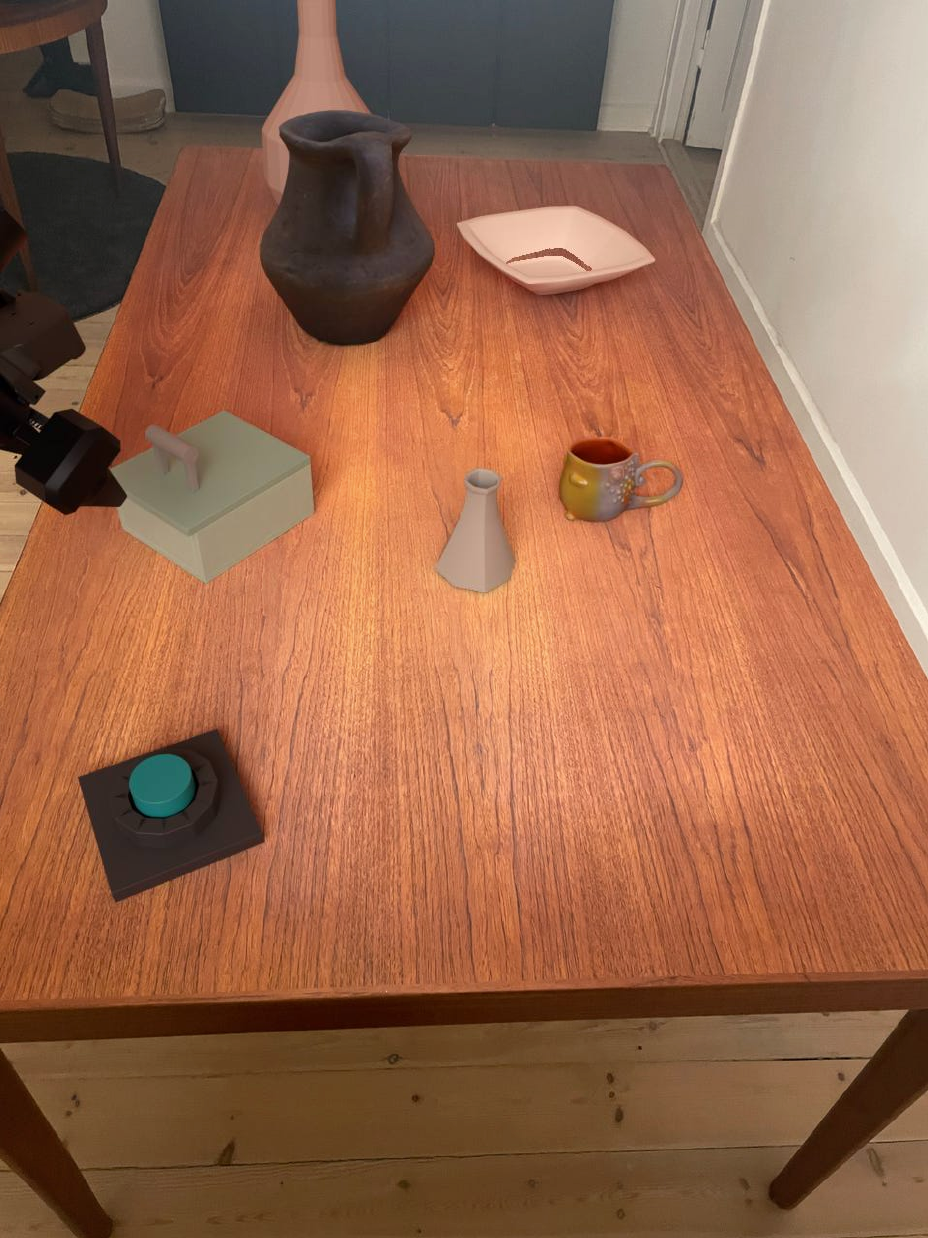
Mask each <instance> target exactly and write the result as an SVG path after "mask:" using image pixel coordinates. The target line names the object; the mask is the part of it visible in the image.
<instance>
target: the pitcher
mask: <svg viewBox="0 0 928 1238" xmlns="http://www.w3.org/2000/svg"><path fill="white" fill-rule="evenodd" d="M279 136H280V138H281V139H282V141H283V142H284V144H285V145H286V147H287V149H288V151H289V167H288V175H287V179H286V184H285V188H284V191H283V195H282V199H281V201H280V204H279V206H278V205H277V207H276V210H275V212H274V214H273V215H272V218H271V219H270V221H269V224H267V227H266V228H265V229H264V231H263V234H262V236H261V240H260V245H259V259H260V264H261V268H262V270H263V273H264V275H265V276H266V278H267V280H268V281H269V282H270V285H271V286H272V287H273V289H274V291H275V292H276V293H277V295H278V296H279V297H280V299H281V300H282V301H283V303H284V305H285V306H286V308H287V311H289V313H290V314H291V316H292V317H293V318H294V320H295V322H296V324H297V325H298V326H299V327H300V328H301V330H303V331H304V332H305V333H306V334H308V335H309V336H311V337H313V338H314V339H316V340H317V341H318V342H323V343H327V344H329V345H337V346H352V345H353V346H354V345H366V344H370V343H375V342H378V341H380V340H381V339H382V338H384V337H385V336H386V335H387V333H388V332H389V331H390V330H391V329H392V327H393V326H394V325H395V323H396V322H397V320H398V319H399V317H400V315H401V314H402V312H403V311H404V309H405V307H406V305H407V304H408V302H409V300H410V299H411V297H412V295H413V293H414V292H415V291H416V289H417V288H418V286H420V284H421V282H422V281H423V280H424V278H425V276H426V275H427V273H428V272H429V270H430V269H431V268H432V265H433V262H434V259H435V253H436V246H435V245H436V244H435V241H434V238H433V236H432V232H431V231H430V230H429V229H428V227H427V225H426V224H425V222H424V221H423V219H422V217H421V216H420V214H419V213H418V210H417V209H416V207H415V206H414V204H413V202H412V200H411V198H410V196H409V194H408V193H409V192H407V189H406V187H405V185H404V181H403V179H402V176H401V173H400V169H399V161H400V159H399V158H400V155H401V153H402V152H403V150H404V148H405V147H406V146H407V145H408V144H409V143H410V141H411V140H412V131H411V129H410V128H409V127H408V126H407V125H404V124H402V123H400V122H398V121H394V120H390V119H388V117H387V118H386V117H383V116H381V115H377V114H373V113H371V114H367V113H361V112H354V111H348V110H328V111H319V112H313V113H308V114H305V115H300V116H296V117H294V118H291V119H289V120H287V121H285V122H284V123H282V124H281V125H280V126H279Z"/></svg>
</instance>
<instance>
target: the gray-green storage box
mask: <svg viewBox="0 0 928 1238" xmlns="http://www.w3.org/2000/svg"><path fill="white" fill-rule="evenodd" d="M314 503H315V502H314V489H313V476H312V464H311V463H310V464H308V465H307V466H305V467H303V468H302V469H300V470H298V471H297V472H295V473H293V474H292V475H290V476H288V477H287V478H285V479H283V480H282V481H280V482H279V483H277V484H275V485H274V486H272V487H270V488H269V489H267V490H265V491H264V492H262V493H260V494H259V495H257V496H255V497H254V498H252V499H250V500H249V501H247V502H245V503H244V504H242V505H241V506H239V507H237V508H236V509H234V510H232V511H231V512H229V513H227V514H226V515H224V516H222V517H221V518H219V519H217V520H216V521H214V522H212V523H211V524H209V525H208V526H206V527H204V528H203V529H201V530H199V531H198V532H196V533H194V534H193V535H191V536H189V537H187V536H186V535H184V534H183V533H181V532H180V531H178V530H176V529H175V528H173V527H172V526H170V525H169V524H167V523H165V522H164V521H162V520H161V519H159V518H158V517H156V516H154V515H153V514H151V513H150V512H148V511H147V510H145V509H143V508H142V507H140V506H139V505H137V504H136V503H134V502H132V501H131V500H129V499H128V498H126V500H125V501H124V503H123V504H122V505H121V506H120V507H116V510H117V515H118V518H119V522H120V526H121V529H122V530H123V531H124V532H126V533H128V534H129V535H131V537H134V538H135V539H137V540H139V541H140V542H141V543H143V544H144V545H145V546H147V547H148V548H150V549H152V550H154V551H155V552H157V553H158V554H159V555H161V556H162V557H164V558H166V559H167V560H169V561H170V562H171V563H173V564H175V565H176V566H178V567H179V568H180V569H182V570H183V571H185V572H187V573H188V574H190V575H191V576H192V577H194V578H196V579H197V580H198V581H200V582H202V583H203V584H205V585H207V584H209V583H210V582H211V581H213V580H214V579H216V578H217V577H219V576H220V575H223V573H226V572H227V571H228V570H230V569H231V568H233V567H234V566H236V565H238V564H240V563H241V562H242V561H244V560H245V559H247V558H248V557H249V556H251V555H253V554H254V553H256V552H257V551H259V550H261V549H262V548H264V547H265V546H266V545H268V544H269V543H271V542H272V541H274V540H276V539H278V538H279V537H280V536H282V535H283V534H285V533H287V532H288V531H290V530H291V529H293V528H294V527H295V526H297V525H299V524H300V523H301V522H303V521H304V520H306V519H308V518H309V517H311V516H312V515H314V514H315V504H314Z"/></svg>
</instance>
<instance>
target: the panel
mask: <svg viewBox="0 0 928 1238" xmlns="http://www.w3.org/2000/svg"><path fill="white" fill-rule="evenodd" d="M160 754H172V755H176V756H179V757H181V758H183V759H184V760H185V761H186V762H187V763H188V764H189V766H190V768H191V772H192V776H193V779H194V783H195V793H194V796H193V798H192V800H191V802H190V803H189V804H188V806H187V807H186V808H184V809H183V810H182V811H180V812H179V813H177V814H174V815H172V816H169V817H163V818H155V817H150V816H147V815H145V814H143V813H142V812H141V811H139V809H138V808H137V807H136V805H135V802H134V799H133V796H132V794H131V791H130V787H129V780H130V776H131V774H132V772H133V771H134V769H135V768H136V767H137V766H138V765H139V764H140V763H141V762H142V761H144V760H146V759H147V758H150V757H152V756H155V755H160ZM77 779H78V782H79V786H80V790H81V793H82V797H83V800H84V804H85V807H86V811H87V813H88V814H87V815H88V817H89V821H90V824H91V828H92V831H93V835H94V838H95V842H96V845H97V849H98V852H99V855H100V859H101V862H102V865H103V869H104V873H105V876H106V880H107V883H108V886H109V889H110V893H111V896H112V898H113V901H114V903H119V902H120V901H122V900H126V899H128V898H131V897H133V896H135V895H138V894H141V893H143V892H145V891H147V890H150V889H153V888H155V887H158V886H160V885H163V884H165V883H168V882H170V881H172V880H175V879H177V878H180V877H182V876H185V875H187V874H189V873H192V872H195V871H197V870H199V869H202V868H204V867H207V866H209V865H212V864H215V863H217V862H220V861H222V860H224V859H226V858H230V857H232V856H234V855H237V854H239V853H241V852H244V851H246V850H250V849H252V848H254V847H256V846H260V845H261V844H264V843H265V839H264V834H263V831H262V829H261V826H260V824H259V821H258V819H257V817H256V815H255V812H254V810H253V808H252V806H251V804H250V800H249V799H248V796H247V794H246V792H245V789H244V787H243V785H242V783H241V780H240V778H239V775H238V773H237V770H236V768H235V766H234V763H233V762H232V760H231V757H230V755H229V752H228V750H227V748H226V745H225V743H224V741H223V738H222V736H221V734H220V732H219V729H218V728H214V729H211V730H208V731H206V732H203V733H199V734H197V735H194V736H191V737H189V738H185V739H182V740H180V741H178V742H175V743H172V744H169V745H165V746H163V747H160V748H157V749H155V750H152V751H148V752H146V753H143V754H141V755H140V754H139V755H137V756H134V757H131V758H129V759H126V760H123V761H120V762H118V763H114V764H111V765H109V766H105V767H103V768H100V769H97V770H94V771H92V772H89V773H86V774H82V775H80V776H78V777H77Z"/></svg>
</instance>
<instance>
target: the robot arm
mask: <svg viewBox="0 0 928 1238" xmlns="http://www.w3.org/2000/svg"><path fill="white" fill-rule="evenodd" d="M28 239H29V235H28V233H27V231H26V230H25V229H24V228H23V227H22V225H21V224H20V223H19V222H18V221H17V220H16V219H15V218H14V216H13V215H11V214H10V213H9V212H8V211H7V210H6V209H5V208H3V206H0V274H1V273H2V272H3V271H4V269H5V268H6V267H7V265H8V264H9V263H10V262H11V260H12V259H13V258H14V257H15V256H16V254H17V253H18V252H19V251H20V249H21V248H22V246H24V244H25V243H26V242H27V240H28ZM15 293H16V295H17V297H16V296H14V295H12V294H11V293H9V292H8V291H7V290H5V289H4V288H1V287H0V451H3V452H8V453H12V454H16V455H20V457H19V458H18V460H17V461H16V462H15V464H14V465H13V466H14V474H15V483H16V484H17V485H18V486H20V487H21V488H23V489H24V490H25V491H27V492H28V493H30V494H31V495H33V496H34V497H36V498H37V499H39V500H40V501H42V502H43V503H45V504H46V505H48V506H49V507H51V508H53V509H54V510H55V511H57V512H59V513H61V514H62V515H64V516H68V515H71V514H74V513H76V512H77V511H78V510H79V508H81V507H82V508H83V507H91V508H93V507H95V508H99V507H100V508H117V507H120V506H121V505H122V504H123V503H124V501H125V500H126V498H127V494H126V493H125V491H124V490H123V488H122V487H121V485H120V484H119V482H118V481H117V479H116V478H115V476H114V475H113V474H112V472H111V470H110V469H111V468H110V466H111V465H112V463H113V462H114V461H115V459H116V458H117V457H118V455H119V454H120V453H121V452H122V446H121V444H122V443H121V441H122V440H120V439H119V438H118V437H117V436H115V435H114V434H113V433H112V432H111V431H109V430H108V429H106V428H105V427H104V426H102V425H101V424H99V423H97V422H96V421H94V420H93V419H91V418H89V417H88V416H86V415H84V414H82V413H81V412H79V411H78V410H75V409H74V408H67V409H63V410H58V411H54V412H53V413H52V415H51V416H50V417H48V416H46V415H45V414H43V413H42V412H40V411H39V410H37V409H35V408H33V407H32V406H36V405H38V403H39V402H40V400H41V399H42V398H43V396H44V395H45V394H46V393H47V391H46V389H44V388H43V387H41V386H40V385H39V384H38V383H36V382H38V381H41V380H44V379H45V378H47V377H48V376H50V375H51V374H53V373H54V372H56V371H57V370H59V369H60V368H62V367H63V366H65V365H66V364H67V363H69V362H70V361H71V360H75V361H76V360H78V359H80V358H81V357H82V356H83V355H84V354H85V352H86V350H87V347H86V344H85V342H84V341H83V339H82V336H81V335H80V333H79V330H78V328H77V327H76V324H75V323H74V320H73V319H72V317H71V315H70V313H69V311H68V309H67V307H65V306H63V305H62V304H60V303H59V302H56V301H54V300H52V299H50V298H49V297H47V296H45V295H43V294H41V293H39V292H35V291H34V292H33V291H32V292H26V291H24V289H23V290H22V289H19V290H17V291H15ZM30 405H32V406H30ZM38 430H39V431H38Z"/></svg>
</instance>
